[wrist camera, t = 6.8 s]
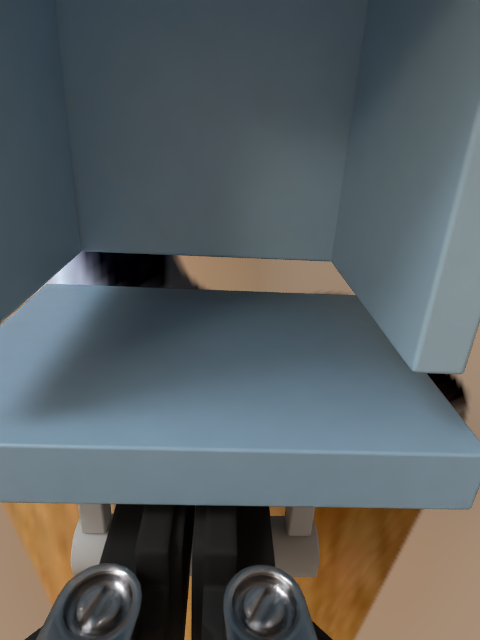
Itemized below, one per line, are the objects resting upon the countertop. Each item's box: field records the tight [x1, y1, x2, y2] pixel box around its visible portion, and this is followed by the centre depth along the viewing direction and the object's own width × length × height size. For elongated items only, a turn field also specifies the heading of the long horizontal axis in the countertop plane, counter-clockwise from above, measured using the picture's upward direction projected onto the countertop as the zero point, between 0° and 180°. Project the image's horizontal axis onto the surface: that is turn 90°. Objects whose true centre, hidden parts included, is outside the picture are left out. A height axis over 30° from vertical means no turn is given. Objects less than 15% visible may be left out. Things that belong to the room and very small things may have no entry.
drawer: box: [0, 0, 480, 577], centre depth 9 cm, size 15×9×7 cm, turn 177°
